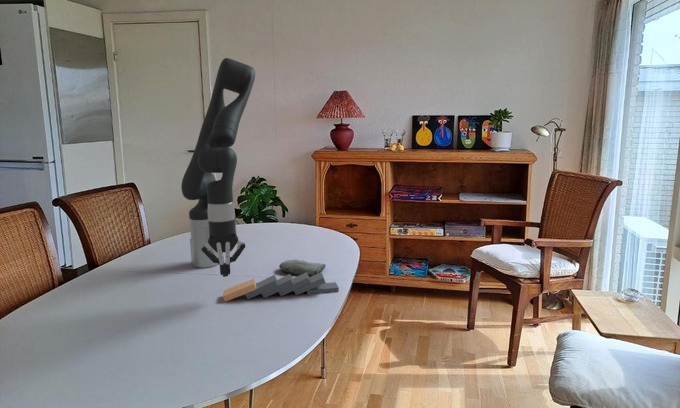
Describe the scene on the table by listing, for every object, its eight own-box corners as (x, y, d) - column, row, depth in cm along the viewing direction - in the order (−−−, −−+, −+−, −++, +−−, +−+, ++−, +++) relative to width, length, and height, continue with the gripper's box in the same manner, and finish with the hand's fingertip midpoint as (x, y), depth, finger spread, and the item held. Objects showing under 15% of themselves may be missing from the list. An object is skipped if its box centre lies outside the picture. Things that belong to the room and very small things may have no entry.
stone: (274, 273, 169) (315, 283, 165) (274, 263, 167) (316, 272, 163) (287, 260, 179) (326, 270, 175) (287, 250, 177) (327, 259, 173)
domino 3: (261, 293, 147) (290, 279, 147) (261, 287, 152) (290, 273, 152) (263, 298, 147) (293, 284, 148) (264, 292, 152) (292, 278, 153)
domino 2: (245, 294, 146) (275, 280, 147) (245, 288, 151) (274, 274, 152) (247, 299, 147) (277, 285, 147) (248, 293, 151) (277, 279, 152)
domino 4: (278, 291, 148) (307, 277, 148) (278, 285, 153) (306, 272, 153) (280, 296, 148) (310, 282, 149) (280, 290, 153) (309, 277, 154)
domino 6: (307, 290, 150) (338, 287, 151) (305, 284, 154) (335, 282, 156) (307, 296, 150) (338, 293, 152) (305, 290, 155) (335, 287, 156)
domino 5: (293, 290, 149) (323, 277, 149) (292, 284, 153) (321, 272, 154) (296, 295, 149) (325, 282, 150) (295, 289, 154) (323, 277, 154)
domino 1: (222, 296, 145) (253, 284, 146) (223, 290, 150) (253, 278, 151) (225, 301, 145) (256, 289, 146) (225, 295, 150) (255, 283, 151)
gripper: (196, 222, 138) (201, 282, 142) (245, 219, 141) (248, 278, 144) (198, 216, 146) (203, 273, 149) (245, 213, 148) (248, 270, 151)
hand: (225, 275), depth 147 cm, fingers closed
